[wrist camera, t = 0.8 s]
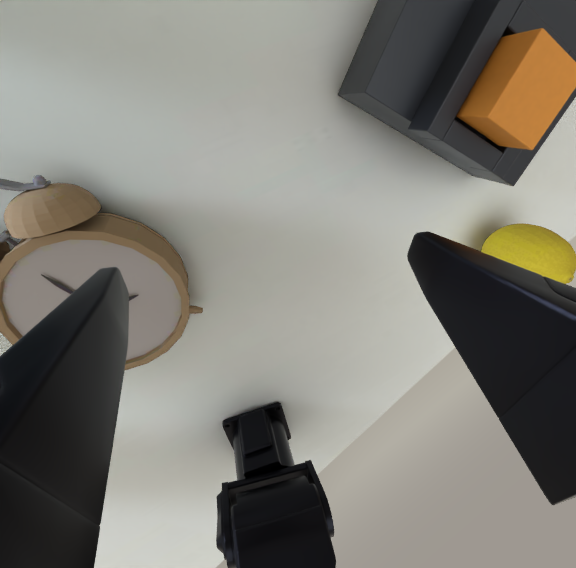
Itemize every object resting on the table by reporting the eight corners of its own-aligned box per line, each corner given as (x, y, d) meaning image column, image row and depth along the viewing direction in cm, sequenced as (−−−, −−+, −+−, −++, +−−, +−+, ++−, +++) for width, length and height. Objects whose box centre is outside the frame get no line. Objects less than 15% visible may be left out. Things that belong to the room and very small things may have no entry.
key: (498, 146, 19) (532, 150, 17) (455, 116, 18) (487, 117, 16) (543, 76, 18) (587, 72, 16) (500, 36, 16) (543, 26, 14)
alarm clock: (117, 395, 24) (-171, 299, 14) (120, 348, 28) (-108, 246, 18) (226, 308, 23) (-9, 135, 13) (214, 271, 27) (24, 114, 17)
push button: (469, 181, 26) (534, 199, 21) (334, 101, 21) (377, 100, 16) (567, 27, 22) (676, 4, 17) (431, -123, 17) (532, -223, 12)
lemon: (522, 215, 30) (617, 247, 23) (495, 267, 32) (575, 310, 25) (476, 210, 28) (565, 243, 21) (452, 266, 31) (525, 311, 24)
